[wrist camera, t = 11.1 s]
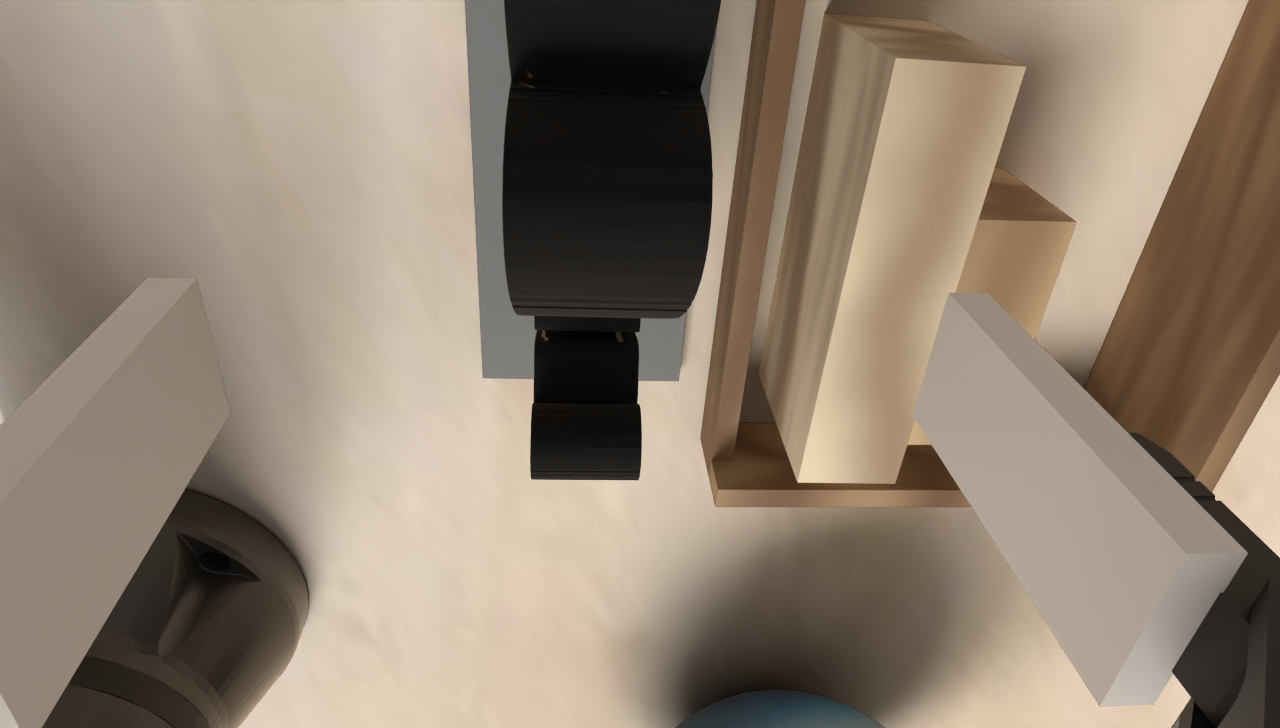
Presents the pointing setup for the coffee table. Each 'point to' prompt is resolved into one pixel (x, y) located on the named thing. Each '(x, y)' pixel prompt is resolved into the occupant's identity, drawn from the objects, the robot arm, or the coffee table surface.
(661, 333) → the felt mat
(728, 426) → the tray
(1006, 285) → the offcut short
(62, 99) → the coffee table surface
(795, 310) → the block
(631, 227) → the sign
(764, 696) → the decorative sphere
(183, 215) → the coffee table surface
